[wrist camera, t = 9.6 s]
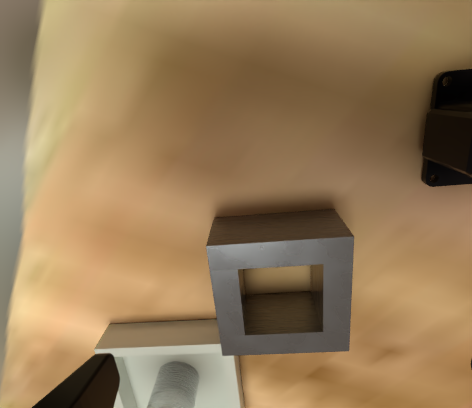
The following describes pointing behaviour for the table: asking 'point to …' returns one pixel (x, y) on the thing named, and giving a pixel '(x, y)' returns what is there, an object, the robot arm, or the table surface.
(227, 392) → the tray
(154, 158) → the table surface
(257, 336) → the bracket
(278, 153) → the table surface
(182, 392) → the pin
